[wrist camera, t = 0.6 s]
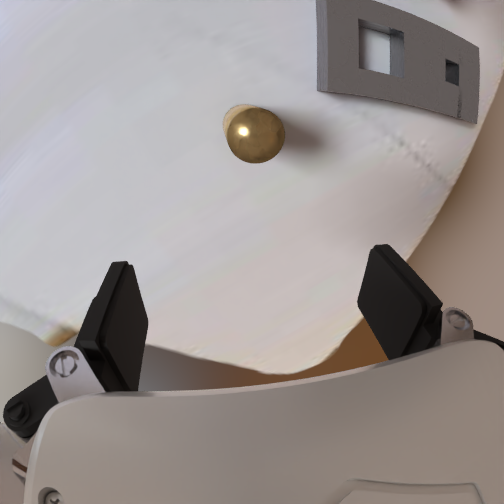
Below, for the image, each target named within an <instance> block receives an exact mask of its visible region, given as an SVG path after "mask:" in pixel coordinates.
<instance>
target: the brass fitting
mask: <svg viewBox="0 0 504 504" xmlns="http://www.w3.org/2000/svg"><path fill="white" fill-rule="evenodd" d="M223 129H224V133H225V136H226V139H227V142H228V145H229V147H230V149H231V151H232V152H233V153H234V155H235V156H237V157H238V158H239V159H241V160H243V161H245V162H248V163H263V162H266V161H268V160H270V159H272V158H273V157H275V156H276V155H277V154H278V153H279V151H280V150H281V148H282V146H283V143H284V139H285V131H284V127H283V125H282V122H281V121H280V119H279V118H278V117H277V116H276V115H275V114H273V113H272V112H270V111H268V110H265V109H262V108H258V107H255V106H251V105H246V104H242V105H237V106H235V107H233V108H231V109H230V110H229V111H228V112H227V113H226V115H225V117H224V120H223Z"/></svg>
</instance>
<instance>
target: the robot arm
mask: <svg viewBox="0 0 504 504" xmlns="http://www.w3.org/2000/svg"><path fill="white" fill-rule="evenodd" d="M357 303H358V307H359V309H360V311H361V313H362V314H363V316H364V318H365V319H366V321H367V323H368V324H369V326H370V328H371V329H372V331H373V333H374V335H375V336H376V338H377V340H378V341H379V343H380V345H381V347H382V349H383V350H384V352H385V354H386V356H387V358H388V359H389V361H385V362H382V363H377V364H374V365H369V366H365V367H361V368H357V369H352V370H348V371H343V372H338V373H334V374H328V375H323V376H318V377H312V378H307V379H300V380H294V381H287V382H281V383H273V384H265V385H256V386H247V387H237V388H225V389H211V390H190V391H138V385H139V379H140V372H141V365H142V358H143V353H144V347H145V341H146V335H147V330H148V318H147V314H146V311H145V307H144V304H143V301H142V297H141V294H140V290H139V286H138V283H137V279H136V275H135V271H134V267H133V265H129V264H128V262H127V261H121V262H112V264H111V266H110V268H109V270H108V272H107V274H106V276H105V278H104V281H103V283H102V285H101V287H100V289H99V292H98V294H97V296H96V297H95V298H94V299H93V300H92V303H91V305H90V307H89V310H88V312H87V314H86V317H85V319H84V322H83V324H82V327H81V329H80V332H79V334H78V337H77V339H76V342H75V345H74V347H70V346H67V347H62V348H60V349H57V350H56V351H54V352H53V353H52V354H51V355H50V356H49V358H48V360H47V362H46V367H45V369H46V374H47V375H45V376H44V377H42V378H41V379H40V380H38V381H37V382H35V383H33V384H32V385H30V386H29V387H27V388H26V389H24V390H23V391H21V392H20V393H19V394H17V395H15V396H14V397H12V398H11V399H10V400H9V401H8V402H7V404H6V405H5V408H4V414H3V418H4V421H3V423H1V422H0V504H504V342H503V341H500V340H498V339H496V338H493V337H491V336H488V335H486V334H483V333H481V332H478V331H476V330H473V322H472V320H471V318H470V317H469V315H468V314H467V313H465V312H464V311H463V310H460V309H458V308H454V307H449V308H446V309H445V310H444V311H443V312H442V311H441V310H440V309H441V307H442V305H443V303H442V302H441V301H440V300H439V298H438V297H437V296H436V295H435V294H434V293H433V291H432V290H431V289H430V288H429V287H428V286H427V285H426V284H425V283H424V281H423V280H422V279H421V278H420V277H419V276H418V275H417V274H416V272H415V271H414V270H413V269H412V268H411V267H410V266H409V265H408V264H407V263H406V262H405V261H404V260H403V259H402V258H401V257H400V255H399V254H398V253H397V252H396V251H395V250H394V249H393V248H392V247H391V246H390V245H388V244H382V245H375V246H374V248H373V249H371V250H370V254H369V258H368V262H367V266H366V270H365V274H364V278H363V282H362V285H361V289H360V293H359V296H358V300H357Z"/></svg>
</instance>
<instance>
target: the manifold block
mask: <svg viewBox="0 0 504 504" xmlns="http://www.w3.org/2000/svg"><path fill="white" fill-rule="evenodd" d="M316 12H317V91H327V92H336V93H344V94H352V95H359V96H366V97H372V98H378V99H383V100H388V101H393V102H398V103H403V104H407V105H412V106H416V107H420V108H424V109H428V110H432V111H435V112H439V113H442V114H446V115H449V116H452V117H456V118H459V119H462V120H465V121H468V122H472V123H475V124H477V117H478V104H479V80H480V64H479V48H478V47H477V46H475V45H473V44H472V43H470V42H468V41H466V40H465V39H463V38H461V37H459V36H457V35H455V34H454V33H452V32H450V31H448V30H446V29H444V28H442V27H440V26H438V25H435V24H433V23H431V22H429V21H427V20H424V19H422V18H420V17H417V16H415V15H413V14H410V13H408V12H405V11H402V10H400V9H397V8H394V7H391V6H388V5H385V4H382V3H379V2H376V1H373V0H316ZM358 26H361V27H365V28H369V29H372V30H376V31H380V32H383V33H387V34H390V75H388V74H384V73H380V72H375V71H371V70H366V69H360V68H359V31H358Z"/></svg>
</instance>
